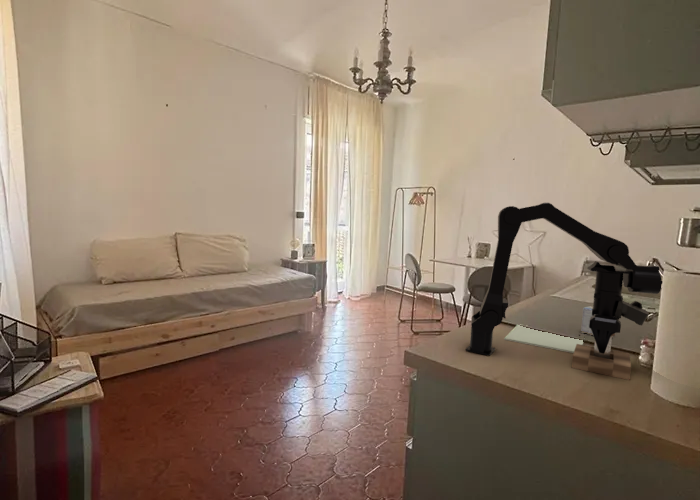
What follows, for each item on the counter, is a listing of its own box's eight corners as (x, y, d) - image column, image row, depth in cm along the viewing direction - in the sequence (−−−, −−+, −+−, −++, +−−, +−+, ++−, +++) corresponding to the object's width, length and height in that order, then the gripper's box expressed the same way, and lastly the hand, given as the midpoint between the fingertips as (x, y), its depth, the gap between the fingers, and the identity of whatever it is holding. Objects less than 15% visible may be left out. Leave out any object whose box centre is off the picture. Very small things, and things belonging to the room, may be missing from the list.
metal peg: (611, 371, 100) (615, 333, 99) (589, 366, 103) (593, 330, 102) (611, 365, 104) (615, 329, 103) (590, 361, 107) (593, 326, 106)
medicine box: (612, 337, 129) (615, 311, 129) (606, 340, 127) (609, 312, 126) (586, 331, 136) (589, 305, 135) (580, 333, 133) (582, 307, 132)
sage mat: (580, 354, 112) (580, 352, 112) (504, 339, 123) (504, 338, 123) (584, 337, 129) (584, 335, 129) (517, 325, 140) (517, 324, 140)
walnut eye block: (629, 379, 95) (631, 367, 95) (571, 367, 102) (572, 356, 101) (628, 364, 105) (629, 353, 105) (575, 354, 112) (576, 343, 112)
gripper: (651, 301, 90) (643, 369, 91) (645, 289, 105) (638, 347, 107) (592, 293, 95) (586, 358, 97) (595, 283, 111) (589, 339, 113)
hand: (602, 350), depth 103 cm, fingers closed on metal peg, 4 cm apart
